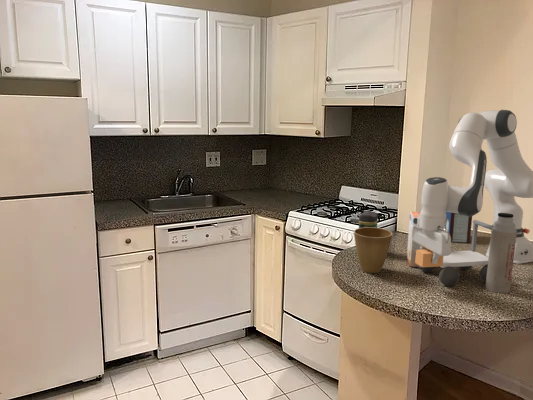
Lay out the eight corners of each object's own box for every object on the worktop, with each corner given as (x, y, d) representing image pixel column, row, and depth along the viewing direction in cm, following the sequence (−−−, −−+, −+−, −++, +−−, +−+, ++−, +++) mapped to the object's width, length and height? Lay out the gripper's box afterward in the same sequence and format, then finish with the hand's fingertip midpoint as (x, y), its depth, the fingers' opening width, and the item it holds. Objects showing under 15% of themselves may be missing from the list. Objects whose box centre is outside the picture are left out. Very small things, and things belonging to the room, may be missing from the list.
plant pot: (349, 263, 191) (351, 226, 188) (385, 264, 191) (387, 227, 188) (355, 276, 177) (357, 236, 173) (393, 277, 176) (396, 237, 173)
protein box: (460, 235, 239) (463, 206, 237) (470, 243, 224) (473, 212, 222) (440, 234, 241) (442, 205, 238) (448, 242, 226) (450, 211, 223)
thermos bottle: (514, 291, 163) (524, 215, 158) (499, 294, 160) (507, 217, 155) (495, 283, 170) (504, 210, 165) (480, 286, 167) (488, 212, 162)
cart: (470, 268, 187) (475, 218, 184) (498, 282, 171) (504, 228, 167) (417, 271, 183) (421, 220, 179) (441, 287, 166) (446, 231, 162)
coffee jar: (360, 247, 214) (362, 209, 211) (377, 250, 211) (379, 211, 207) (355, 253, 206) (357, 213, 202) (372, 255, 202) (374, 215, 199)
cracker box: (424, 268, 187) (428, 218, 183) (409, 267, 188) (413, 217, 184) (420, 258, 200) (424, 211, 196) (406, 257, 201) (409, 210, 197)
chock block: (434, 261, 168) (436, 248, 167) (442, 266, 163) (443, 252, 162) (415, 262, 166) (416, 249, 165) (422, 267, 162) (423, 253, 161)
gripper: (457, 230, 153) (454, 269, 155) (425, 216, 172) (422, 251, 175) (440, 230, 151) (437, 270, 154) (410, 217, 171) (407, 252, 174)
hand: (429, 260), depth 165 cm, fingers closed on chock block, 5 cm apart
